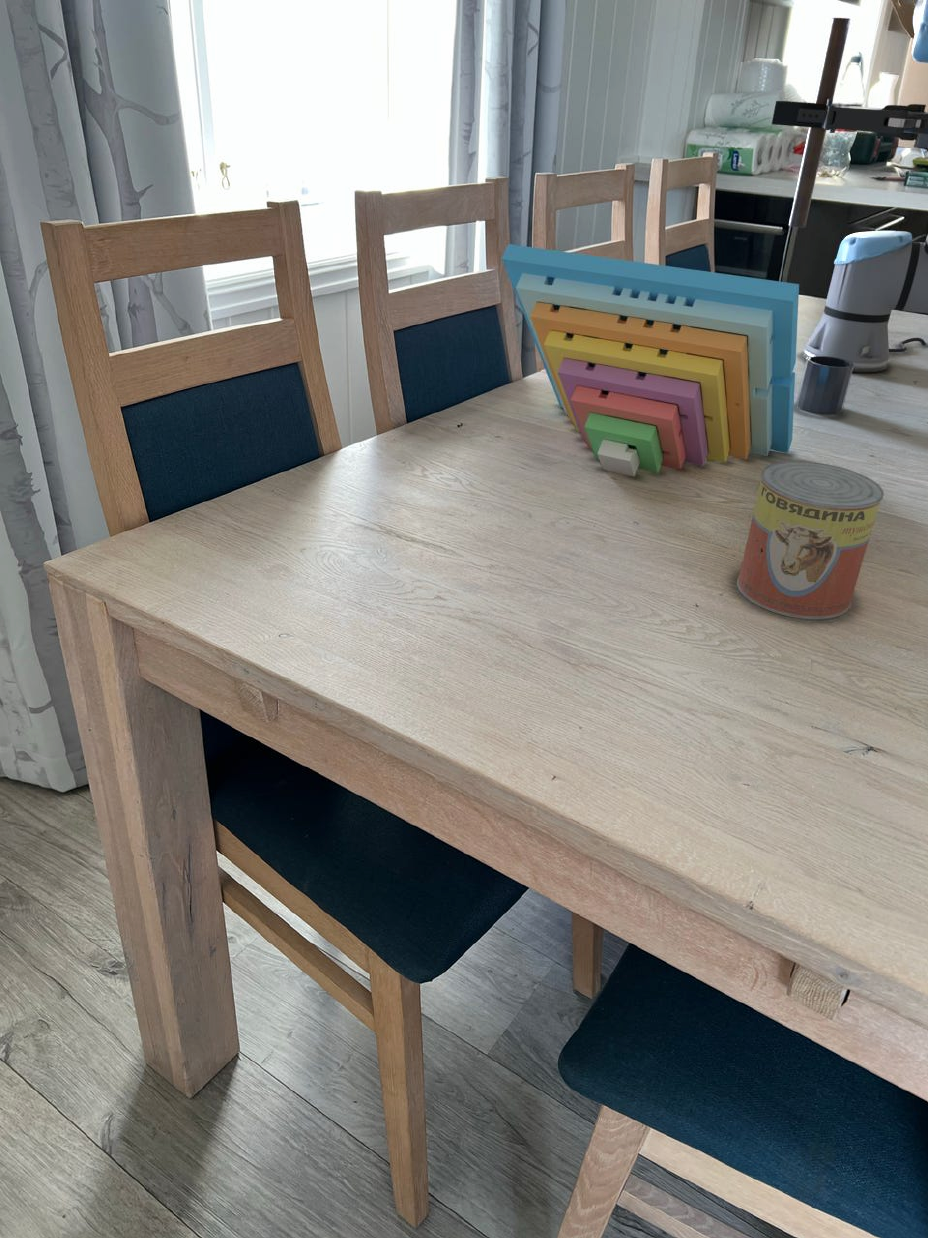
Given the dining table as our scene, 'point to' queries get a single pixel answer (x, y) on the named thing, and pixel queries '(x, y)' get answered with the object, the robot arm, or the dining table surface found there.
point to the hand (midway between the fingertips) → (777, 112)
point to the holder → (824, 385)
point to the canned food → (808, 539)
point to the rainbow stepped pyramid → (661, 356)
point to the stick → (818, 134)
